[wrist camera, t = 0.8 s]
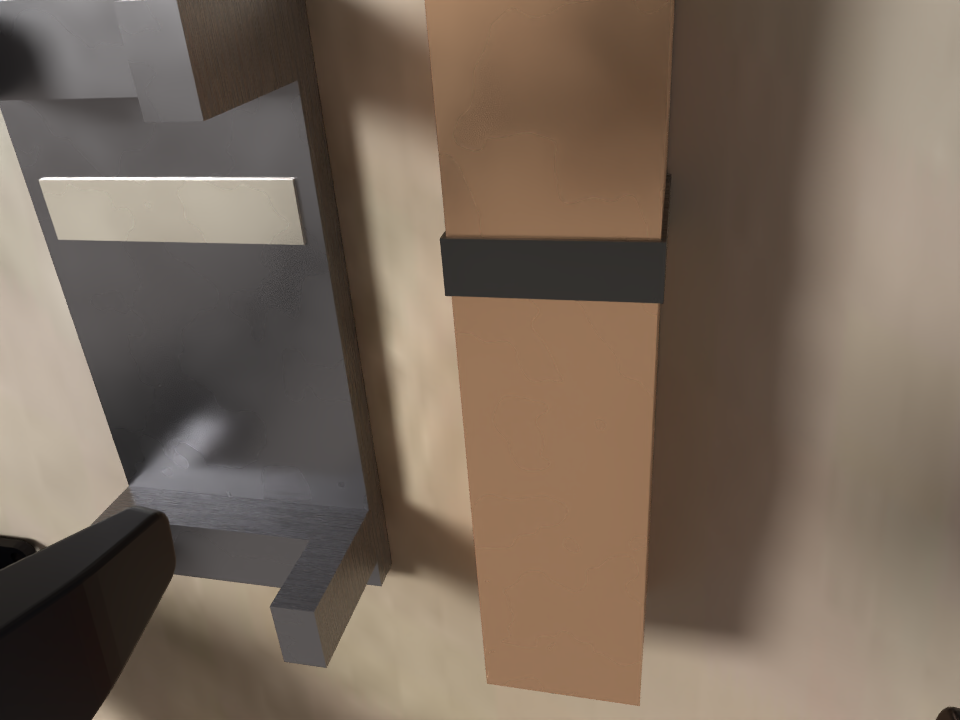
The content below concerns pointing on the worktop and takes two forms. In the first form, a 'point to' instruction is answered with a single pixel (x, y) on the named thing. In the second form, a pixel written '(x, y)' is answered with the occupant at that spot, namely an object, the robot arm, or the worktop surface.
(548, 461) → the banded tan post
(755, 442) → the worktop surface
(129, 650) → the robot arm
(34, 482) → the worktop surface
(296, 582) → the collar stand
